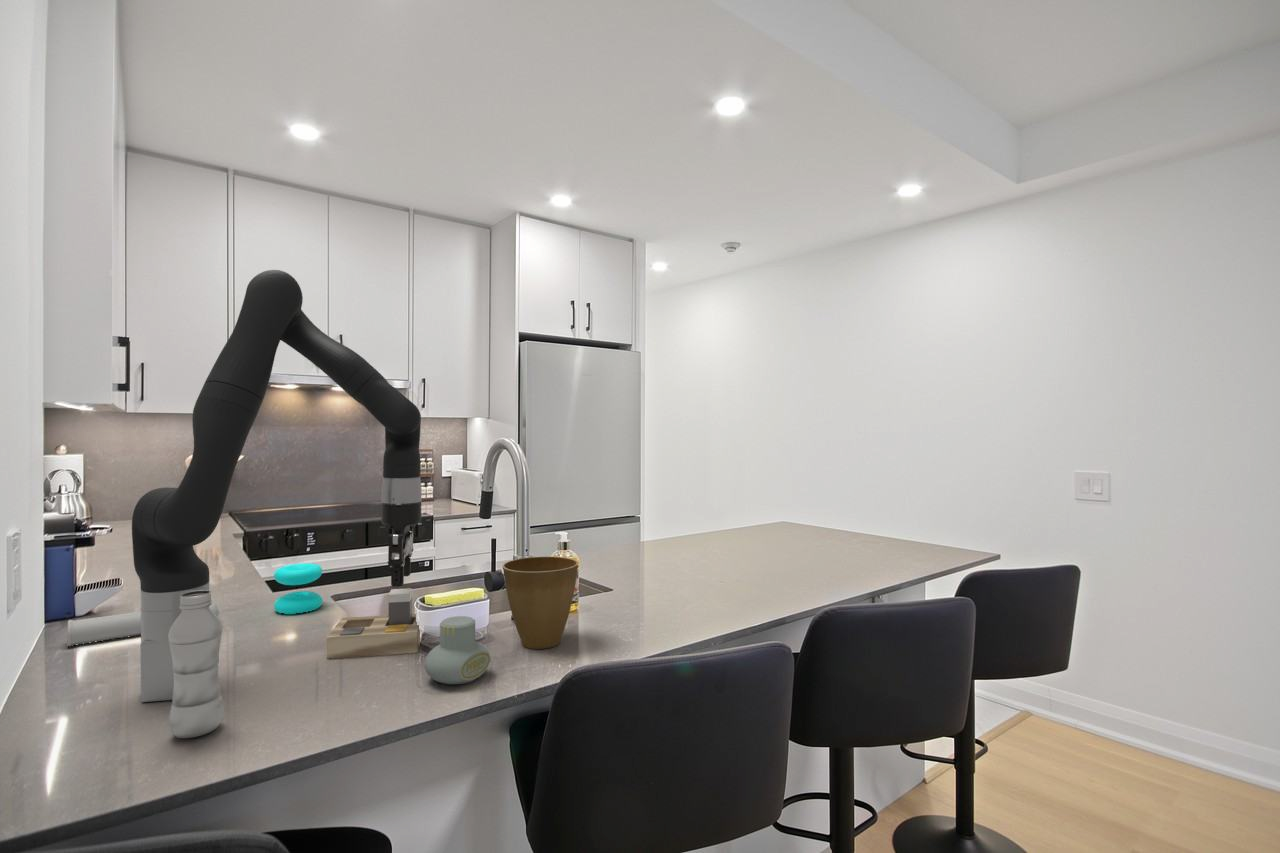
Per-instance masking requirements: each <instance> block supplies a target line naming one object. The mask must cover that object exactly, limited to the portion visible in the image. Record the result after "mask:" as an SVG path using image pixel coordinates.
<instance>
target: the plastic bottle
mask: <svg viewBox="0 0 1280 853" xmlns="http://www.w3.org/2000/svg"><path fill="white" fill-rule="evenodd" d="M212 603H213V600H212V591H211V590H210V589H209V590H197V591H190V592H186V593H183V594H181V597H180V605H179V608H180V609H181V610H182V613H181V614H180V615H179V616H178V618H177V619H176V620H175V622H174V623H173V625H172V626H171V628H170V631H169V634H168V638H169V645H170V650H171V655H172V660H173V671H174V688H173V700H171V702H172V703H171V706H170V711H169V717H168V724H169V727H170V732H171V733H172V734H173V735H174V737H176V738H178V739H191V738H197V737H201V736H204V735H207V734H209V733H211V732H213V731H215V730H216V729H217V728H219V726H220V724H222V721H223V719H224V712H225V705H224V699H223V697H222V693H221V692H222V691H221V685H220V684H221V683H220V676H219V667H220V666H219V664H220V663H219V662H220V651H221V650H220V649H221V643H222V636H223V635H222V634H223V627H224V626H223V623H222V621H221V619H220V618H219V616H218V617H217V615H216V614H215V613H214V612H213V611H212V610H211V609H210V605H211V604H212Z"/></svg>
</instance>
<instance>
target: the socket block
mask: <svg viewBox="0 0 1280 853" xmlns="http://www.w3.org/2000/svg"><path fill="white" fill-rule="evenodd" d="M416 614H417V613H412V624H410V625H408V624H403V625H389V614H387V615H385V614H384V615H374V616H373V615H372V616H371V615H370V616H369V615H368V616H351V617H342V618H341V619H340V620H339V622H337V624H336V625H335V626H334V628H333V629H332V630H331V631H330V633H329V634H328V635H327V636H326V660H330V659H329V658H331V659H342V658H357V657H372V656H374V657H375V656H386V655H387V656H388V655H402V654H403V655H404V654H416V653H418V650H419V648H420V645H421V643H420V630H419V625H417V622H416Z"/></svg>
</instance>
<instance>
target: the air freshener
mask: <svg viewBox="0 0 1280 853" xmlns="http://www.w3.org/2000/svg"><path fill="white" fill-rule="evenodd" d="M439 626H440V627H439V630H440V631H439V644H438V645H436V646H435V647H433V648H432V649H431V650H430V651H429V652H428V654H427V655H426V657H425V659H424V669H425V672H426V674H427V675H428V677H430V678H431V679H433V680H434V681H435V682H438V683H441V684H444V685H464V684H470V683H472V682H473V681H474V680H476V679H477V678H479V677H480V676H482V674H484V673H485V672H486V670H487V669H488V668H489V666H490V662H491V653H490V652H489V649H488V648H487V647H486V646H485V645H484V644H482V643H480V642H479V641H476V620H475V619H474V618H473V617H471V616H467V615H465V616H464V615H463V616H462V615H459V616H458V615H457V616H452V617H451V616H450V617H447V618H444V619H443V620H442V621H441V622H440V623H439Z"/></svg>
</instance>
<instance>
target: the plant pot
mask: <svg viewBox="0 0 1280 853" xmlns="http://www.w3.org/2000/svg"><path fill="white" fill-rule="evenodd" d="M578 568H579V561H577V560H575V559H573V558H569V557H562V556H546V555H545V556H531V557H530V556H528V557H521V558H515V559H512V560H509V561H506V562H504V563H503V564H502V572H503V577H504V578H503V579H504V584H505V589H506V595H507V600H508V605H509V608H510V612H511V615H512V619H513V622H514V624H515V628H516V631H517V633H518V637H519V638H520V642H521V644H522V646H524V647H525V648H528V649H531V650H532V649H533V650H534V649H535V650H543V649H549V648H553V647H555V646H557V645H559V644H560V643H561V639H562V636H563V634H564V631H565V628H566V624H567V622H568V618H569V615H570V611H571V607H572V603H573V599H574V595H575V587H576V584H577V583H576V582H577V575H578Z"/></svg>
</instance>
